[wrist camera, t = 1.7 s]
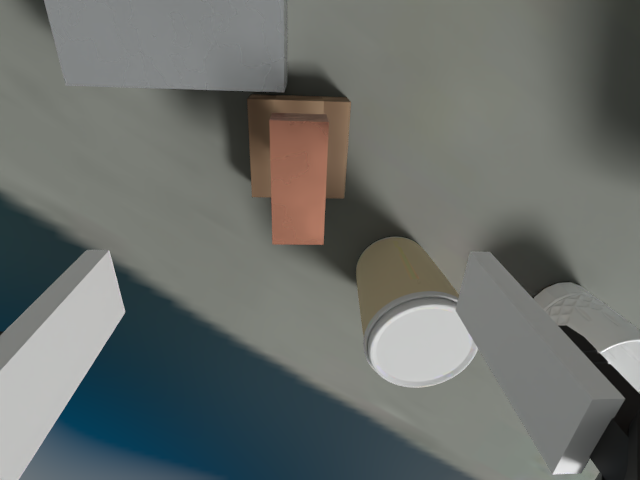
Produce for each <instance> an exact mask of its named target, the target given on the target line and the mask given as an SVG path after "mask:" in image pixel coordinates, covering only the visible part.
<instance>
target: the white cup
mask: <svg viewBox="0 0 640 480" xmlns="http://www.w3.org/2000/svg"><path fill="white" fill-rule="evenodd" d="M533 299H534V300H535V301H536V302H537V303H538V305H539V306H540V307H541V308H542V309H543V310H544V311H545V312H546V313H547V314H548V315H549V316H550V318H551V319H552V320H553V321H554V322H555V323H556V324H557V325H567V326H568V327H570V328H571V329H573V330H574V331H576V332H577V333H579V334H581V335H582V336H584V337H585V338H586V339H587V340H588V341H589V342H590V343H591V344H592V345H593V346H594V347H595V348H596V350H597V352H598V353H600V354H601V355H602V356H603V357H604V358H605V359H606V360H607V361H608V364H611V365H612V366H613V367H614V368H615V369H616V370H617V371H618V372H619V373H620V374H621V375H622V376H623V377H624V378H625V379H626V380H627V381H628V382H629V383H630V384H631V385H632V386H633V387H634V388H635V389H636V390H637V392H639V391H640V329H638V328H637V327H636V326H634V325H633V324H632V323H631V322H629V321H628V320H627V319H625V318H624V317H623V316H622V315H620V314H619V313H618V312H616V311H615V310H613V309H612V308H610V307H609V306H608V305H607V304H605V303H604V302H603V301H601V300H600V299H598V298H596V297H595V296H593V295H592V294H591V293H590V292H588V291H587V290H586V289H585V288H583V287H582V286H579V285H577V284H574V283H572V282H566V283H557V284H554V285H552V286H549V287H547V288H545V289H543V290H542V291H541V292H540V293H539V294H537V295H536V296H535V297H534V298H533Z"/></svg>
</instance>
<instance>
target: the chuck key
mask: <svg viewBox="0 0 640 480" xmlns="http://www.w3.org/2000/svg"><path fill="white" fill-rule="evenodd" d="M269 126H270V165H271V204H272V242H273V244H291V245H324V223H325V200H326V178H327V156H328V134H329V120H328V118H327V115H326V114H300V113H272V115H271V117H270V120H269Z"/></svg>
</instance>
